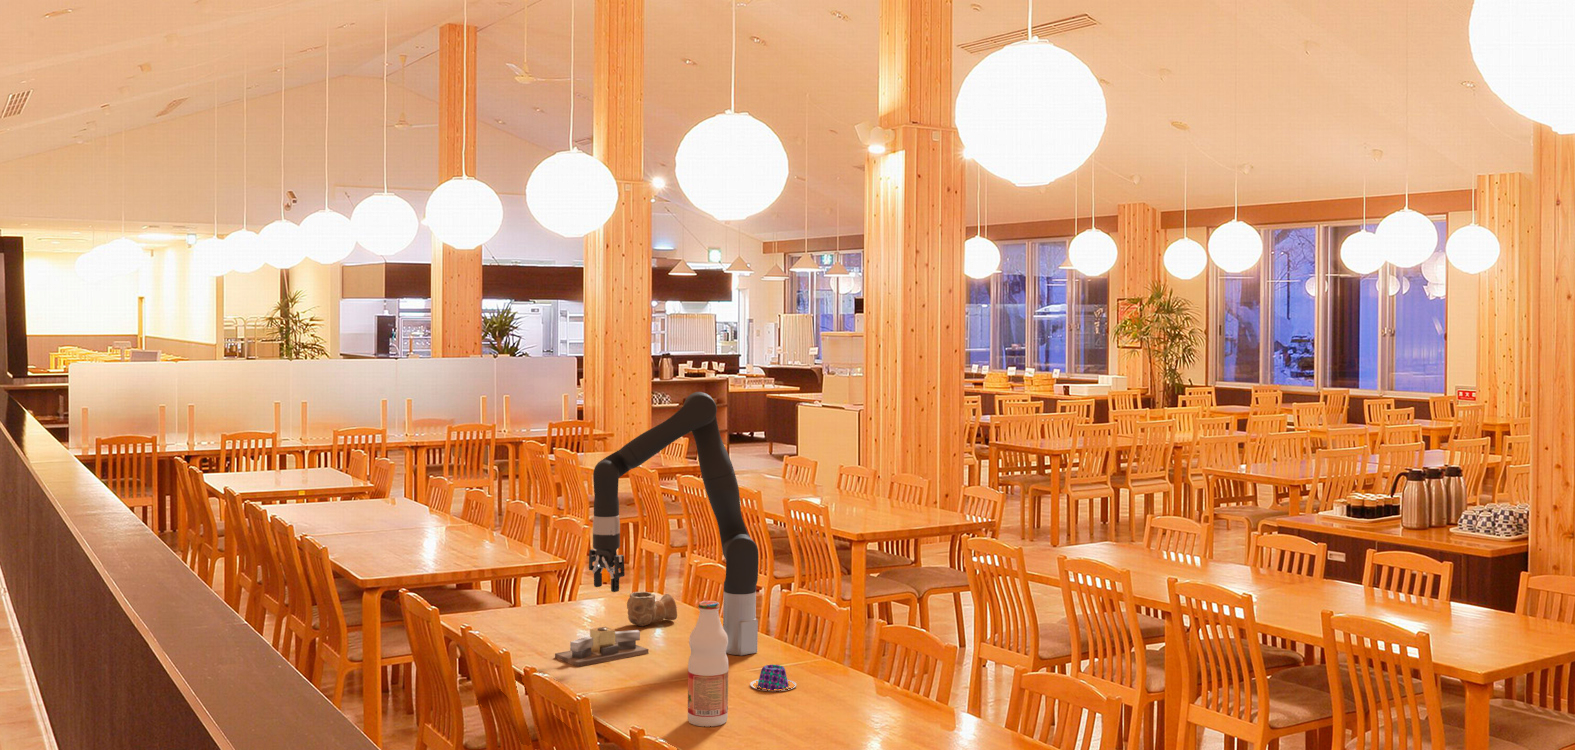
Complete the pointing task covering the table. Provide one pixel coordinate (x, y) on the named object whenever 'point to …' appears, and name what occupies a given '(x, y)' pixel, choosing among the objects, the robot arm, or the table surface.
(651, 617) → the pipe
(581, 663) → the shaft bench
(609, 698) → the table surface
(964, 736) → the table surface
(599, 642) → the tan knob block
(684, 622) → the table surface
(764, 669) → the pudding
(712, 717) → the fruit juice
